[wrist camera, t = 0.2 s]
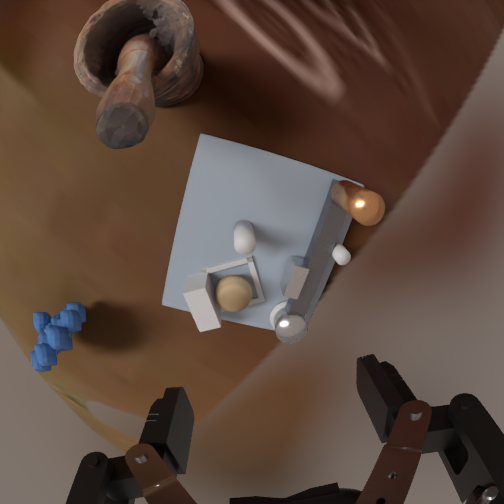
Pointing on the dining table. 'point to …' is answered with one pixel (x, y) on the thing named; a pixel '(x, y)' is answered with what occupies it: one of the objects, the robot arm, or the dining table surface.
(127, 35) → the mortar and pestle
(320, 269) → the lever
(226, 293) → the hazelnut
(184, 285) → the nutcracker base
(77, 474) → the robot arm
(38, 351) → the blue lumpy cluster
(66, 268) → the dining table surface
